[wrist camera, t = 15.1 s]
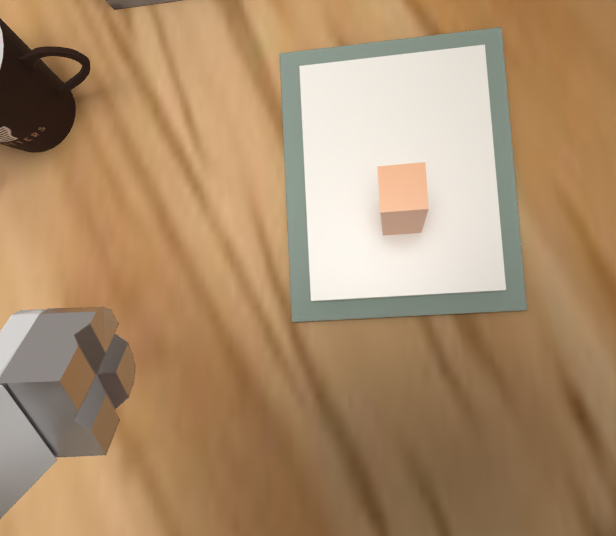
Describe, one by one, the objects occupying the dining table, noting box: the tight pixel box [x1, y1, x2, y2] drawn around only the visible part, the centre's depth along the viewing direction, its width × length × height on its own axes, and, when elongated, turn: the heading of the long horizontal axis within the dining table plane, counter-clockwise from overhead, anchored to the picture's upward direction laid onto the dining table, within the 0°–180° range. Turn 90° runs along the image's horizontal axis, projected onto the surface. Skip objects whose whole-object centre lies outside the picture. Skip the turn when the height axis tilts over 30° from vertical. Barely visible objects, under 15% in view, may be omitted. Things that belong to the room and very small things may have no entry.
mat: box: [280, 27, 527, 322], centre depth 40 cm, size 20×16×1 cm
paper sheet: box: [299, 45, 506, 301], centre depth 36 cm, size 17×13×9 cm
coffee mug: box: [0, 19, 90, 152], centre depth 40 cm, size 12×9×10 cm
